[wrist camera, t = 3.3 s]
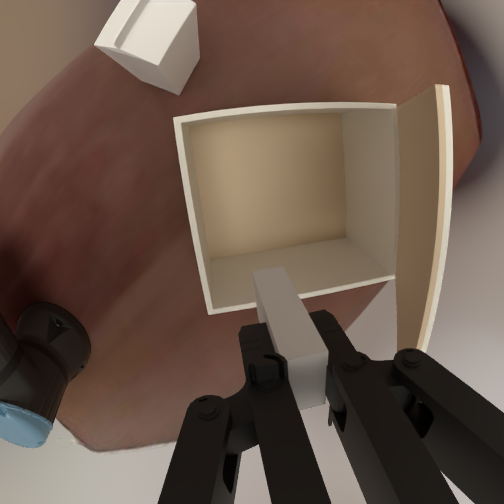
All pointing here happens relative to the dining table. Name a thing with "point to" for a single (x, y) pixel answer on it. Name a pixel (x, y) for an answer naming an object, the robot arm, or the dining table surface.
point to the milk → (154, 40)
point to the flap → (423, 211)
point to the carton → (291, 196)
